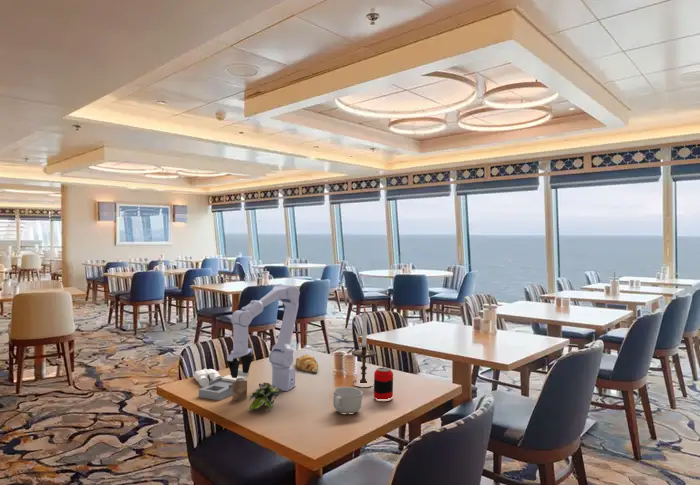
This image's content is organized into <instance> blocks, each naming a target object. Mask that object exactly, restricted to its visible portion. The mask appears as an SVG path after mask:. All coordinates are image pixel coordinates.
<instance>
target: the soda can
mask: <svg viewBox="0 0 700 485" xmlns="http://www.w3.org/2000/svg"><path fill="white" fill-rule="evenodd" d="M373 382H374V386H373V398H374V397H375V398H377V399H388V398H391V397H392V396H393V397H394V392H393V391H394V372H393V371H392V369H391V368H390V367H389V368H388V367H378V368H376V369H375V370H374V377H373Z"/></svg>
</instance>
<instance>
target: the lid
mask: <svg viewBox="0 0 700 485" xmlns="http://www.w3.org/2000/svg"><path fill="white" fill-rule="evenodd" d="M249 372H250V370H249V371H248V373H243V370H242V368H241V369H240V368H238V376H237V378H244V380H247V379H249V375H250V374H249ZM237 378H232V376H231V373H230V374H227V375H225V376H224V377H222V378H221V380H223V381H230V382H234V381H236V379H237Z"/></svg>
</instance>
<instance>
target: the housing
mask: <svg viewBox="0 0 700 485" xmlns="http://www.w3.org/2000/svg"><path fill="white" fill-rule="evenodd" d="M221 376H222V377H225V376H223V375H221ZM222 377H220V378H217V379H215V380H212V381H211V380H209V384H208V385H207V386H206V387H201V388H199V389H198V398H203V399H208V400H214V401H222V400H223V399H225V398H227V397H230V396H231V395H233V382H230V381H223V380H221V378H222Z"/></svg>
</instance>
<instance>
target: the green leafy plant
mask: <svg viewBox="0 0 700 485" xmlns="http://www.w3.org/2000/svg"><path fill="white" fill-rule="evenodd" d="M281 391H282V390H281V389H279V387H277V388H275V386H274V385H273V386H272V383H269V382H262V383H258V387H257V388H256V389H255V391H253V392H251V395H249V396H248V397H249V400H248V401H251V400H252V399H254V400H253V401H252V403H251V404H250V405H249V408H248V409H249V411H250V412H251V411H253V409H254V410H258V409H259V408H261V407H262V406H264V405H266V406H267V408H270V410H269V412H271V410H272V408H273V405H274V403H275V400H276V398H277V397H278V396H279V394H280V393H281ZM273 397H274V398H273Z"/></svg>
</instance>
